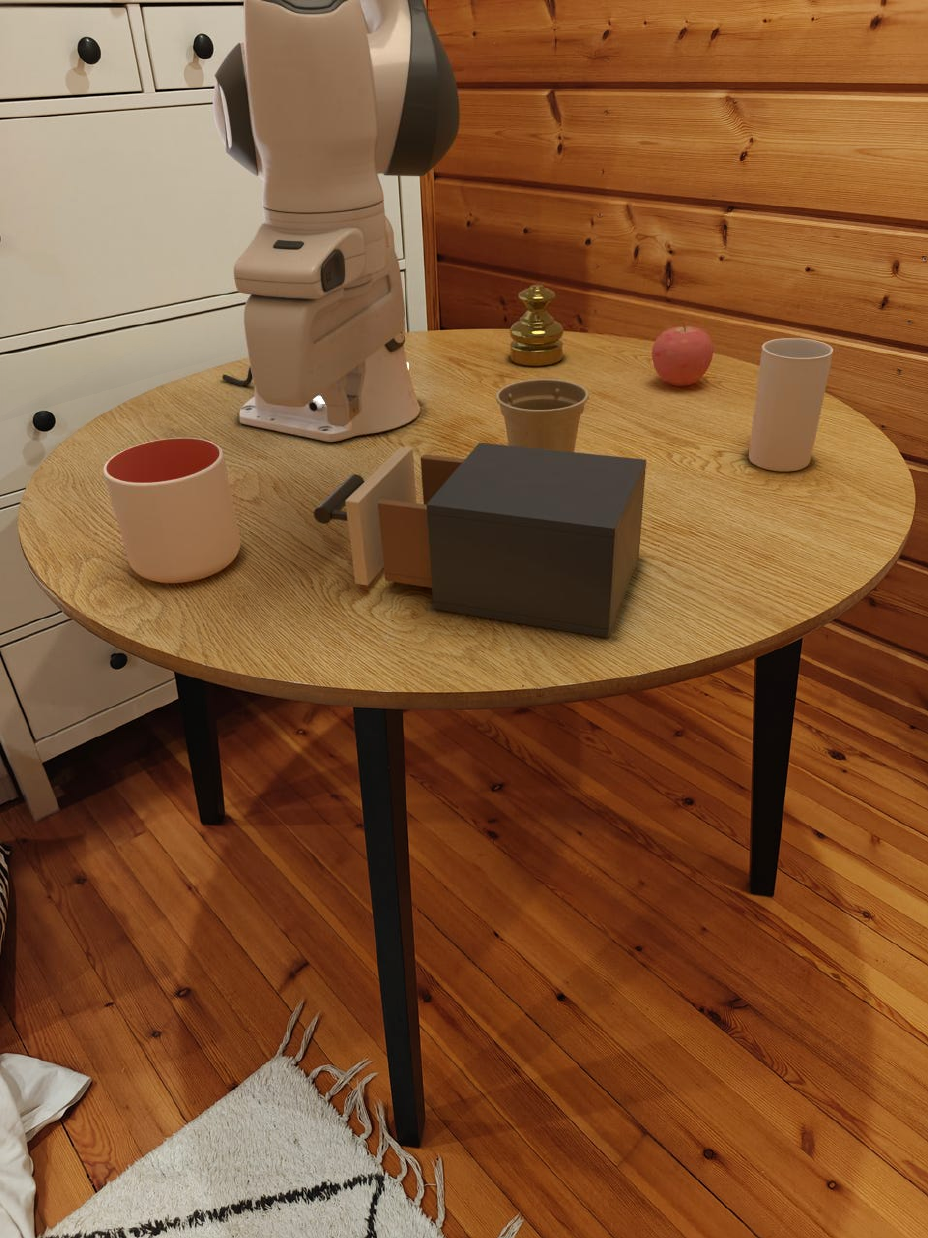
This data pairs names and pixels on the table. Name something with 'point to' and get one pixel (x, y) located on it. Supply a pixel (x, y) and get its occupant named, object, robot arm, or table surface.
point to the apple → (682, 355)
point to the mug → (788, 402)
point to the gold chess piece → (536, 330)
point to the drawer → (389, 517)
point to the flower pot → (542, 413)
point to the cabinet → (537, 537)
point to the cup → (174, 508)
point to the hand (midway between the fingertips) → (345, 419)
